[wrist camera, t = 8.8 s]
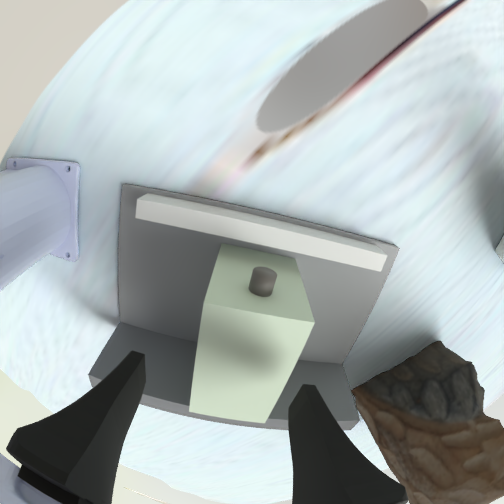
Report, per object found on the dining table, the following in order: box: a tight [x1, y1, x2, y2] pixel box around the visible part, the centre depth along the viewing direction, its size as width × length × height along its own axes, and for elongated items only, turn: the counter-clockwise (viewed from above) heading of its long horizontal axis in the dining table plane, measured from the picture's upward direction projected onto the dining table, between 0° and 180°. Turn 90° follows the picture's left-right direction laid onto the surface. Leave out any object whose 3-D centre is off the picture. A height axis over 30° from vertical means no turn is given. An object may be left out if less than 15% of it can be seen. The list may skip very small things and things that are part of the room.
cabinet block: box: [189, 243, 315, 423], centre depth 16 cm, size 5×10×7 cm, turn 167°
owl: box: [351, 341, 504, 504], centre depth 16 cm, size 13×13×20 cm
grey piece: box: [88, 184, 400, 430], centre depth 17 cm, size 20×13×7 cm, turn 77°
